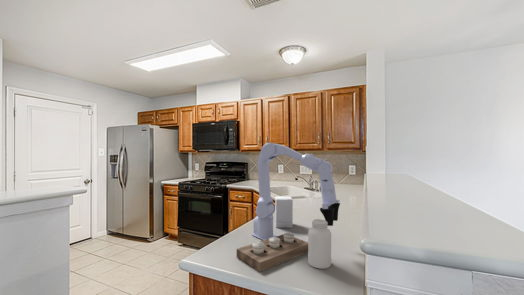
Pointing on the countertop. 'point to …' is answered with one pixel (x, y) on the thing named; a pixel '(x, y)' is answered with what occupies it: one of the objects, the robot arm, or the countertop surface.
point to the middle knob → (274, 243)
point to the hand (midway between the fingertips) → (332, 223)
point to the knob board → (272, 253)
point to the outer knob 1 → (258, 248)
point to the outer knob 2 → (288, 238)
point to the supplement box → (283, 212)
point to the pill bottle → (319, 244)
